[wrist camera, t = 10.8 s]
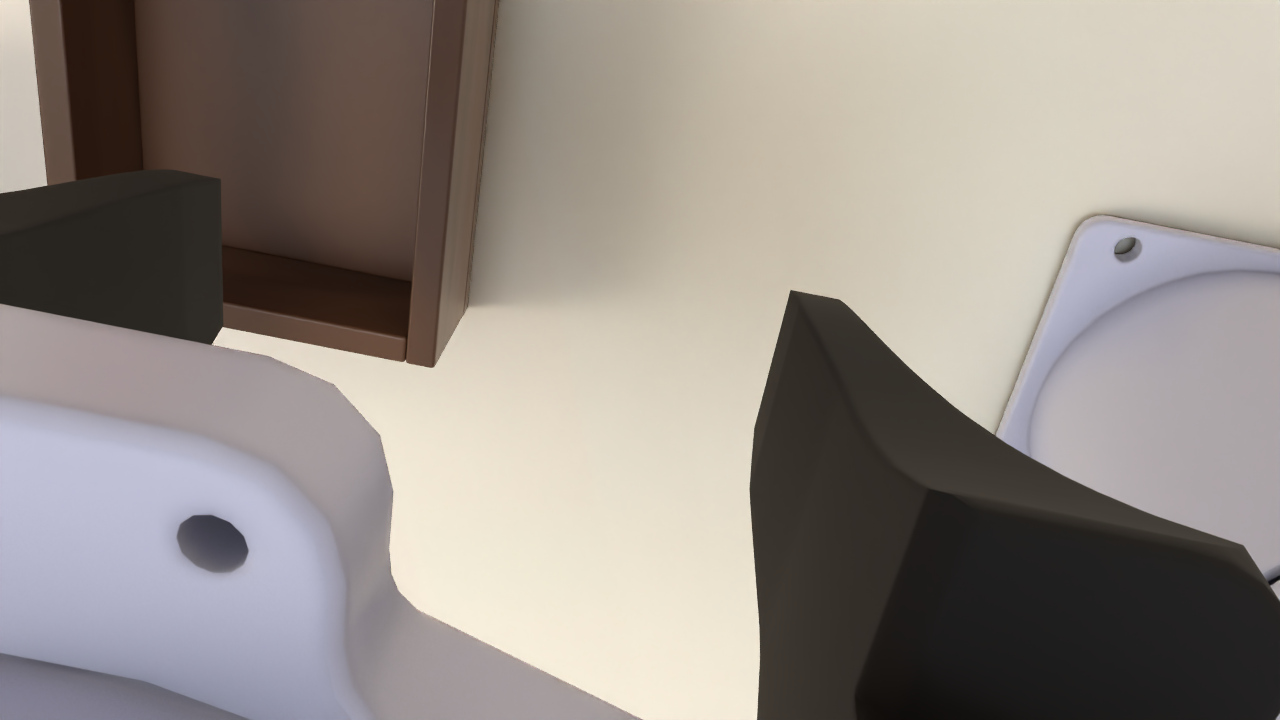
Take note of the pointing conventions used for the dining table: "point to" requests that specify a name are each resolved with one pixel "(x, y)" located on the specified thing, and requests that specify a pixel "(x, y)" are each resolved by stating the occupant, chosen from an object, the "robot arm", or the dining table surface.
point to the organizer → (294, 147)
